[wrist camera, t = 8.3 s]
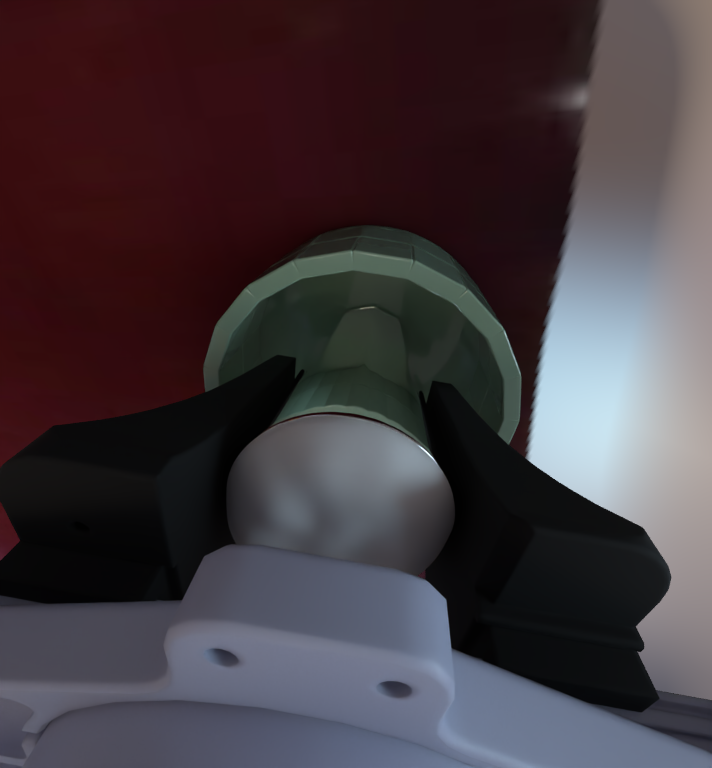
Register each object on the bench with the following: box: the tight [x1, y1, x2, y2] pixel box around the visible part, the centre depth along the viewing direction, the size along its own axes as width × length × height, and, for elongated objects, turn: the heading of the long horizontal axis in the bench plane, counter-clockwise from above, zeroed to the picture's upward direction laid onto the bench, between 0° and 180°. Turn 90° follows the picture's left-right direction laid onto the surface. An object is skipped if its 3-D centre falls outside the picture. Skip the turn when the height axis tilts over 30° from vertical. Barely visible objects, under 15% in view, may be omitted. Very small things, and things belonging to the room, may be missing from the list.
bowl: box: [203, 225, 521, 445], centre depth 13 cm, size 9×9×4 cm
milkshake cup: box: [226, 306, 455, 576], centre depth 10 cm, size 4×5×10 cm
